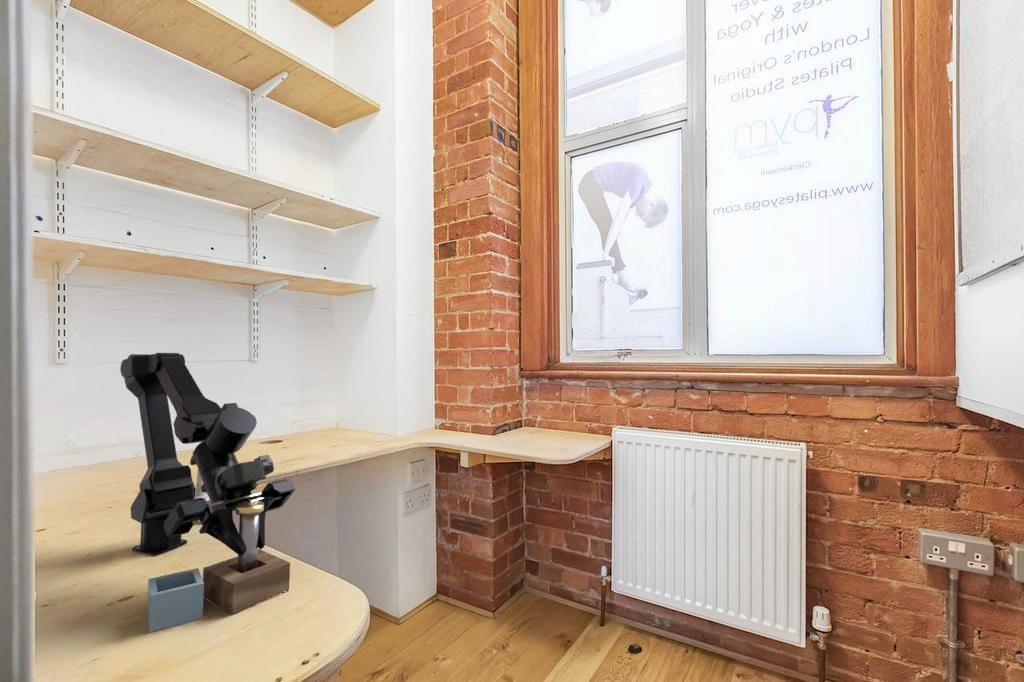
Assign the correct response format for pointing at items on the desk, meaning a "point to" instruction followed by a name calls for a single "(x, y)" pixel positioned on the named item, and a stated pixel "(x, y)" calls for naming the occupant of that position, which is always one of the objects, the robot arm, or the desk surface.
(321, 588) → the desk surface
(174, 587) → the holder
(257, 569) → the hitch block
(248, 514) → the pin
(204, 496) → the electronic device
